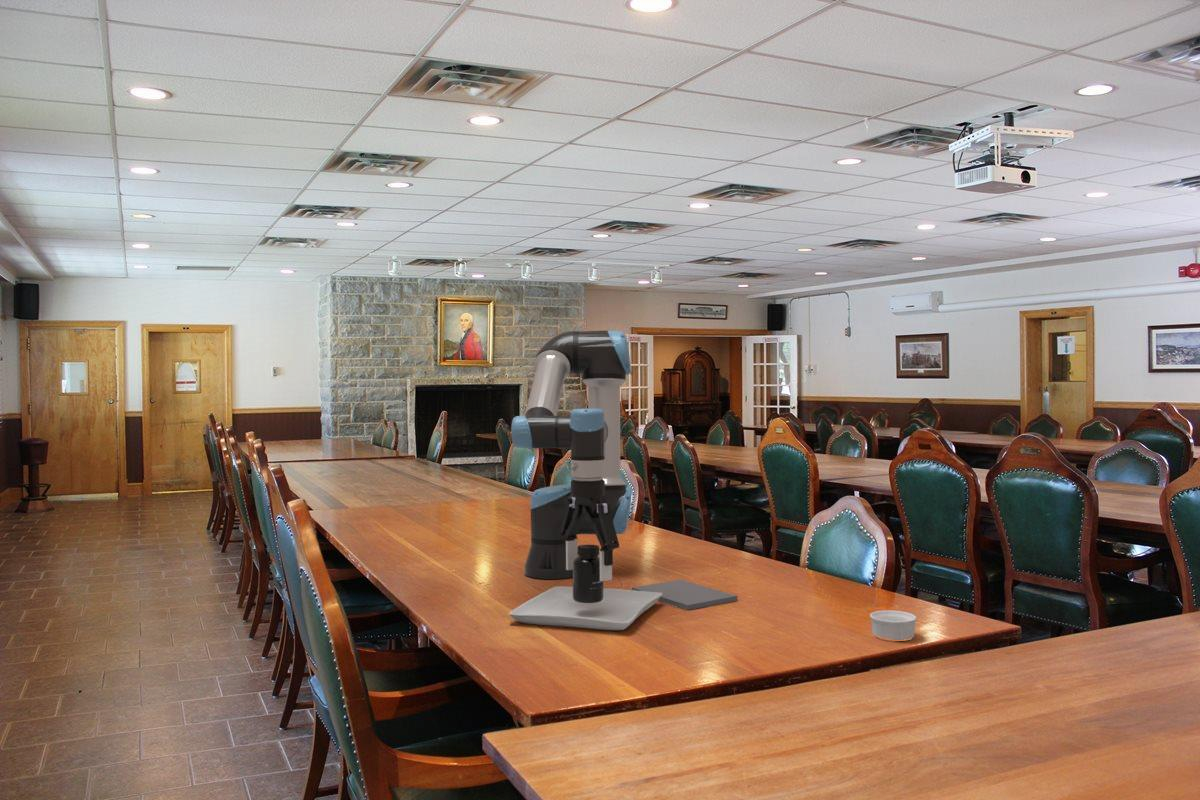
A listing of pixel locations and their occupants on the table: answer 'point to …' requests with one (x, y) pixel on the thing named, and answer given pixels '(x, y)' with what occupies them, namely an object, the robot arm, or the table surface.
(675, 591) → the folder
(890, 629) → the ramekin
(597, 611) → the square plate
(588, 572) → the supplement bottle
